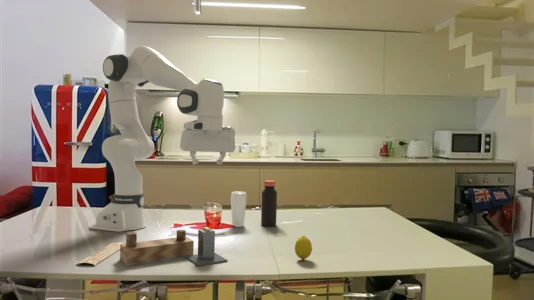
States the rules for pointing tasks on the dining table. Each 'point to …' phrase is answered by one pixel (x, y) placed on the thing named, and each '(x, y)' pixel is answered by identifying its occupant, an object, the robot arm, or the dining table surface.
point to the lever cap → (206, 243)
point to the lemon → (303, 247)
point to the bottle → (269, 204)
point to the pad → (200, 262)
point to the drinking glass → (238, 208)
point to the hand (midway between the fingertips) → (207, 164)
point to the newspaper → (102, 254)
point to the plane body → (155, 249)
